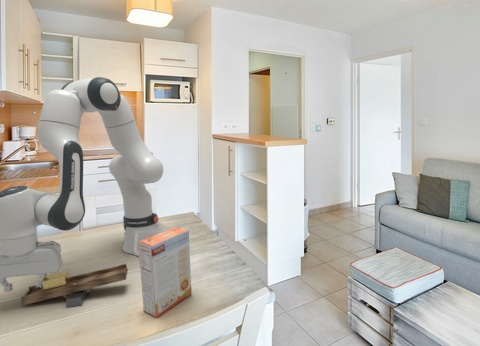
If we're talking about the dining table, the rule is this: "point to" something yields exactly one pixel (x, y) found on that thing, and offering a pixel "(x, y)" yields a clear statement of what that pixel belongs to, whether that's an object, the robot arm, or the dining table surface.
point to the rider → (56, 280)
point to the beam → (78, 284)
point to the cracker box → (165, 270)
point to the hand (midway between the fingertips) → (24, 288)
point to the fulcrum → (76, 298)
